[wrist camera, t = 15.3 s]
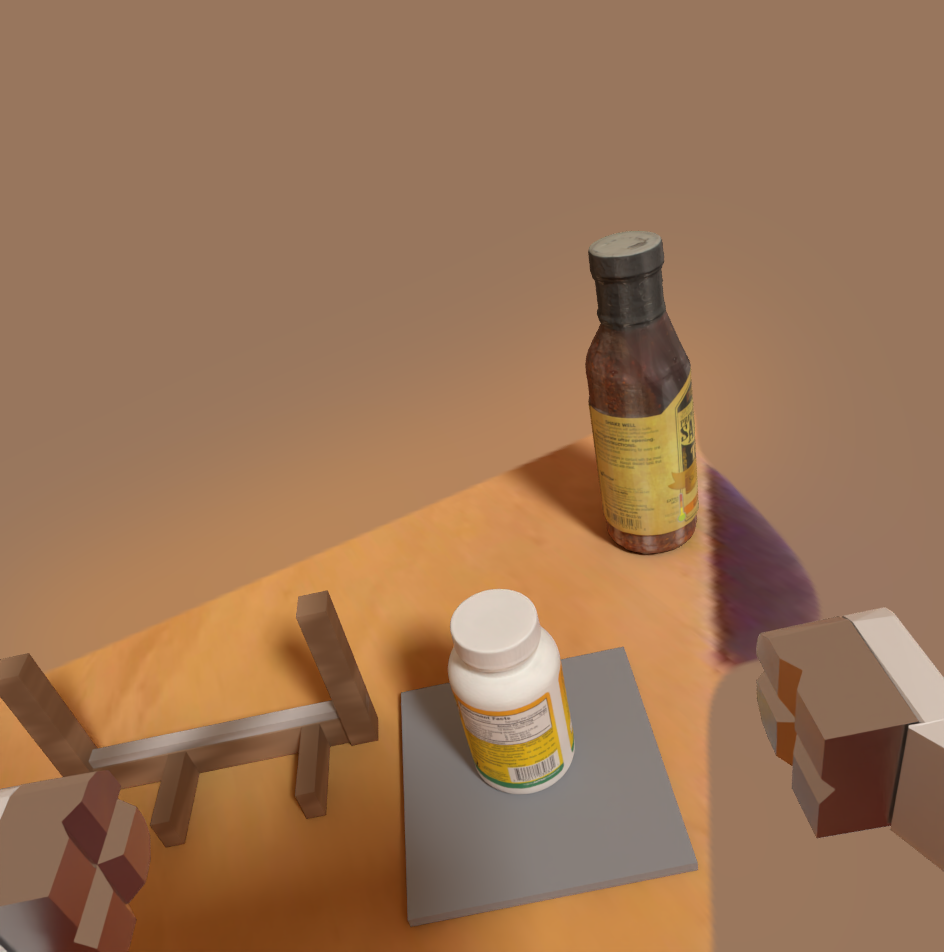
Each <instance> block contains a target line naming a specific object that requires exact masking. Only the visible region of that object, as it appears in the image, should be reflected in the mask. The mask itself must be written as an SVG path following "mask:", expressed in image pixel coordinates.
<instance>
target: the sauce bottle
mask: <svg viewBox="0 0 944 952" xmlns="http://www.w3.org/2000/svg"><path fill="white" fill-rule="evenodd" d="M588 253H589V263H590V272H591V274H592V277H593V279H594V280H595V285H596V293H597V302H598V310H597V315H598V318H599V321H600V322H601V324H600V326H599V329H598V331H597V332H596V335H595V337H594V339H593V340H592V343H591V346H590V348H589V349H588V353H587V356H586V364H585V365H586V375H587V380H588V387H589V395H590V396H589V409H590V417H591V424H592V432H593V439H594V447H595V454H596V462H597V469H598V477H599V484H600V491H601V498H602V506H603V514H604V515H605V518H606V520H607V530H608V533H609V535H610V536H611V538H612V539H613V540H614V541H615V542H616V543H617V544H619V545H621V546H623V547H624V548H625V549H627V550H630V551H634V552H639V553H643V554H649V553H660V552H664V551H669V550H673V549H676V548H678V547H680V546H682V545H683V544H684V543H686V542H687V541H688V540H689V539H690V538H691V536H692V535H693V533H694V531H695V527H696V522H697V515H696V514H697V511H698V508H699V502H698V484H697V466H696V443H695V423H694V412H693V398H692V380H691V365H690V362H689V359H688V357H687V355H686V353H685V351H684V349H683V347H682V345H681V343H680V341H679V339H678V337H677V334H676V332H675V330H674V328H673V325H672V323H671V321H670V319H669V316H668V314H667V312H666V306H665V302H664V297H663V286H662V281H663V280H662V271H661V268H662V265H663V263H664V252H663V243H662V240H661V237H660V236H659V235H657V234H655V233H650V232H642V231H632V232H631V231H630V232H622V233H617V234H613V235H610V236H606V237H604V238H601V239H600V240H598V241H596V242H594V243H593V244H592V245H591V246H590V247H589V251H588Z"/></svg>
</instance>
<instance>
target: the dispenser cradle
mask: <svg viewBox="0 0 944 952" xmlns="http://www.w3.org/2000/svg"><path fill="white" fill-rule="evenodd" d="M296 619H297V621H298V623H299V626H300V628H301V630H302V632H303V635H304V637H305V639H306V642H307V644H308V646H309V649H310V651H311V653H312V655H313V658H314V660H315V662H316V665H317V667H318V669H319V672H320V674H321V676H322V678H323V681H324V683H325V685H326V688H327V690H328V692H329V695H330V697H331V699H332V700H331V701H326V702H321V703H316V704H311V705H307V706H302V707H297V708H292V709H287V710H282V711H278V712H273V713H268V714H263V715H258V716H253V717H248V718H244V719H239V720H234V721H229V722H224V723H219V724H215V725H210V726H205V727H200V728H195V729H190V730H185V731H181V732H176V733H171V734H166V735H161V736H156V737H152V738H147V739H142V740H137V741H132V742H127V743H122V744H118V745H113V746H108V747H103V748H98V749H97V747H96V746H95V744H94V743H93V742H92V740H91V739H90V737H89V736H88V735H87V733H86V732H85V730H84V729H83V728H82V726H81V725H80V724H79V722H78V721H77V719H76V718H75V717H74V715H73V714H72V712H71V711H70V710H69V708H68V707H67V705H66V704H65V703H64V701H63V700H62V698H61V697H60V696H59V694H58V693H57V692H56V690H55V689H54V687H53V686H52V685H51V683H50V682H49V680H48V679H47V678H46V676H45V675H44V673H43V672H42V671H41V669H40V668H39V667H38V665H37V664H36V662H35V661H34V660H33V658H32V657H31V655H30V654H29V653H28V654H23V655H18V656H14V657H9V658H5V659H0V697H1V698H2V700H3V701H4V702H5V703H6V705H7V706H8V707H9V709H10V710H11V711H12V712H13V714H14V715H15V716H16V717H17V719H18V720H19V721H20V723H21V724H22V725H23V726H24V728H25V729H26V730H27V732H28V733H29V734H30V735H31V737H32V738H33V739H34V741H35V742H36V743H37V744H38V746H39V747H40V748H41V749H42V751H43V752H44V753H45V755H46V756H47V757H48V758H49V760H50V761H51V762H52V764H53V765H54V766H55V767H56V769H57V770H58V771H59V772H60V774H61V775H62V776H63V777H68V776H73V775H79V774H84V773H90V772H96V771H104V770H109V771H110V773H111V774H112V775H113V776H114V778H115V779H116V780H117V781H118V782H119V784H120V785H121V788H120V789H124V788H129V787H134V786H139V785H144V784H149V783H153V782H158V781H161V784H160V788H159V792H158V796H157V800H156V804H155V807H154V811H153V815H152V819H151V823H150V826H151V827H152V829H153V830H154V832H155V833H156V834H157V836H158V837H159V839H160V840H161V841H162V843H163V844H164V845H165V847H170V846H175V845H179V844H184V843H185V839H186V834H187V830H188V825H189V820H190V815H191V811H192V806H193V801H194V797H195V792H196V787H197V782H198V778H199V773H202V772H207V771H212V770H217V769H222V768H227V767H232V766H237V765H241V764H246V763H251V762H256V761H261V760H266V759H271V758H276V757H280V756H285V755H290V754H295V753H299V759H298V769H297V780H296V790H295V797H296V799H297V801H298V803H299V805H300V806H301V808H302V810H303V812H304V814H305V816H306V818H307V819H308V818H313V817H318V816H323V815H326V805H327V788H328V771H329V755H330V746H334V745H339V744H344V743H349V742H350V743H351V745H357V744H362V743H367V742H372V741H377V740H378V717H377V714H376V712H375V709H374V707H373V704H372V702H371V699H370V697H369V694H368V691H367V689H366V686H365V684H364V681H363V679H362V676H361V674H360V671H359V669H358V666H357V664H356V661H355V659H354V656H353V653H352V651H351V648H350V646H349V643H348V641H347V638H346V636H345V633H344V631H343V628H342V626H341V623H340V620H339V618H338V615H337V613H336V610H335V608H334V605H333V603H332V600H331V598H330V595H329V593H328V590H327V591H323V592H318V593H313V594H308V595H304V596H299V597H298V605H297V613H296Z"/></svg>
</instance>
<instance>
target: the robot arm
mask: <svg viewBox="0 0 944 952" xmlns="http://www.w3.org/2000/svg"><path fill="white" fill-rule="evenodd" d="M757 657H758V659H759V661H760V663H761V665H762V667H763V669H764V672H763V673H762V674H761V675H760V677H759V678H758V679H757V680H756V681H757V682H756V683H757V701H758V705H759V711H760V715H761V720H762V723H763V726H764V728H765V731H766V734H767V737H768V739H769V741H770V743H771V745H772V747H773V749H774V752H775V754H776V756H778V757H779V758H781V759H782V760H784V761H785V762H787V763H788V764H790V765H791V766H793V771H792V789H793V791H794V793H795V795H796V797H797V799H798V802H799V804H800V806H801V808H802V810H803V811H804V814H805V816H806V818H807V820H808V822H809V824H810V826H811V828H812V830H813V832H814V834H815V836H816V838H822V837H828V836H834V835H840V834H846V833H851V832H857V831H863V830H869V829H874V828H881V827H886V826H891V831H893V832H894V833H895V834H896V835H898V836H899V837H900V838H902V839H903V840H904V841H905V842H907V843H908V844H909V845H910V846H912V847H913V848H914V849H916V850H917V851H918V852H919V853H921V854H922V855H923V856H924V857H926V858H927V859H928V860H930V861H931V862H932V863H933V864H935V865H936V866H937V867H939V868H940V869H941V870H942V871H944V677H942V675H941V674H940V673H939V671H938V670H937V668H936V667H935V666H934V664H933V663H932V662H931V660H930V659H929V658H928V657H927V655H926V654H925V653H924V651H923V650H922V649H921V647H920V646H919V645H918V644H917V642H916V641H915V640H914V639H913V637H912V636H911V634H910V633H909V632H908V631H907V629H906V628H905V627H904V625H903V624H902V623H901V622H900V620H899V619H898V617H897V616H896V615H895V614H894V612H892V611H890V610H889V609H887V608H885V607H884V608H879V609H874V610H869V611H864V612H859V613H855V614H850V615H845V616H842V617H839V616H837V617H833V618H828V619H823V620H819V621H814V622H810V623H805V624H801V625H796V626H792V627H787V628H782V629H778V630H773V631H769V632H764V633H760V635H759V637H758V640H757ZM120 788H121V785H120V784H119V782H118V781H117V780H116V779H115V778H114V776H113V775H112V774H111V773H110V771H109V770H104V771H96V772H90V773H84V774H79V775H73V776H68V777H62V778H56V779H51V780H45V781H40V782H34V783H28V784H23V785H19V786H14V787H8V788H3V789H0V952H128V951H129V947H130V943H131V939H132V935H133V931H134V927H135V923H136V917H135V915H134V913H133V911H132V909H131V907H130V905H129V902H130V901H131V900H132V899H133V898H134V896H135V895H136V894H137V893H138V891H139V890H140V889H141V888H142V886H143V885H144V884H145V882H146V878H147V873H148V869H149V864H150V860H151V857H150V834H149V831H148V828H147V825H146V821H145V819H144V817H143V816H142V814H141V813H140V811H139V810H138V808H137V807H136V806H133V805H131V804H128V803H126V802H124V801H121V800H119V799H117V798H118V795H119V791H120Z"/></svg>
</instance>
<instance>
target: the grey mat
mask: <svg viewBox="0 0 944 952" xmlns="http://www.w3.org/2000/svg"><path fill="white" fill-rule="evenodd" d="M561 664H562V671H563V676H564V683H565V688H566V694H567V700H568V706H569V711H570V717H571V722H572V728H573V733H574V741H575V751H574V756H573V759H572V762H571V764H570V766H569V768H568V770H567V771H566V773H565V774H564V775H563V776H562V777H561V778H560V779H559V780H558V781H557V782H556V783H554V784H553V785H551V786H550V787H548V788H546V789H544V790H542V791H539V792H535V793H530V794H510V793H506V792H504V791H500V790H498V789H496V788H494V787H492V786H491V785H489V784H488V783H487V782H485V781H484V780H483V778H482V777H481V776H480V775H479V773H478V771H477V769H476V766H475V763H474V760H473V757H472V754H471V751H470V748H469V745H468V741H467V738H466V735H465V731H464V728H463V725H462V721H461V718H460V714H459V711H458V708H457V705H456V701H455V698H454V695H453V692H452V689H451V685H450V683H445V684H441V685H436V686H431V687H426V688H421V689H416V690H411V691H407V692H402V693H401V709H402V744H403V778H404V812H405V846H406V880H407V914H408V922H409V924H410V926H411V927H412V926H417V925H422V924H427V923H432V922H437V921H442V920H447V919H453V918H458V917H463V916H468V915H473V914H478V913H483V912H488V911H493V910H498V909H503V908H508V907H513V906H518V905H523V904H528V903H533V902H538V901H543V900H549V899H554V898H559V897H564V896H569V895H574V894H579V893H584V892H589V891H594V890H599V889H604V888H609V887H614V886H619V885H624V884H629V883H634V882H639V881H645V880H650V879H655V878H660V877H665V876H670V875H675V874H680V873H685V872H690V871H695V870H698V864H697V860H696V857H695V854H694V851H693V848H692V845H691V842H690V839H689V836H688V834H687V831H686V828H685V825H684V822H683V819H682V816H681V813H680V810H679V807H678V804H677V801H676V798H675V795H674V793H673V790H672V787H671V784H670V781H669V778H668V775H667V772H666V769H665V766H664V763H663V760H662V757H661V754H660V752H659V749H658V746H657V743H656V740H655V737H654V734H653V731H652V728H651V725H650V722H649V719H648V716H647V713H646V711H645V708H644V705H643V702H642V699H641V696H640V693H639V690H638V687H637V684H636V681H635V678H634V675H633V672H632V670H631V667H630V664H629V661H628V658H627V655H626V652H625V649H624V647H620V648H615V649H610V650H605V651H601V652H596V653H591V654H586V655H581V656H576V657H572V658H567V659H562V660H561Z"/></svg>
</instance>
